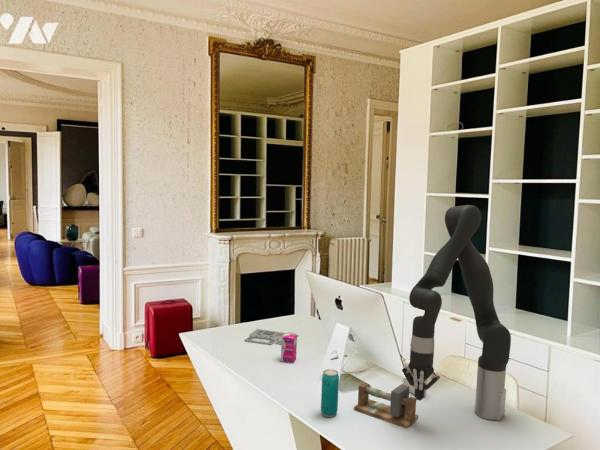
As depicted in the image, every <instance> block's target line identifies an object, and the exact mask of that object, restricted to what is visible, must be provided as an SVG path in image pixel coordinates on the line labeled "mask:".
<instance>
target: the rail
mask: <svg viewBox="0 0 600 450" xmlns="http://www.w3.org/2000/svg"><path fill="white" fill-rule="evenodd" d="M357 394H358V395H357V396H358V397H357V404H356V405H355V406H353V409H354V411H357V412H358V413H362V414H365V415H368V416H370V417H373V418H376V419H379V420H381V421H383V422H384V421H385V422H388V423H391V424H393V425H396V426H399V427H402V428H405V429H408V428H409V427H410V426H411V425H412V424H413V423H414V422H416V421H417V420H418V419H419V414H416V412H417V411H416V410H417V400H416V398H415V396H414V397H413V396H409V398H408V399H406V398H402V405H404V406H405V412H404V413H403V414H401V415H400V416H399V417H396V416H393V415H390V405H389V404H386V403H383V402H380V401H375V400H373V399H370V398H369V395H370V396H371V397H375V398H379V399H383V400H386V401H388V402H389V401H390V402H391V392H387V391H383V390H382V389H378V388H375V387H370V383H367V382H363V383H361V384H360V385H358V393H357Z"/></svg>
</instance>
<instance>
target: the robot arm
mask: <svg viewBox="0 0 600 450" xmlns="http://www.w3.org/2000/svg"><path fill="white" fill-rule="evenodd" d="M481 222H482V214H481V211H480V209H479V208H478V207H477V206H475V205H473V204H465V205H458V206H456V205H455V206H451V207H449V208H448V209H447V210H446V211H445V214H444V223H445V227H446V230H447V232H448V234H449V239H448V241H447V242H445V244H444V245H443V246H442V247H441V248H440V249H439V250H438V251H437V252H436V254H435V255H434V256H433V258H432V259H431V262H430V264H429V265H428V267H427V270H426V271H425V274H424V275H423V276H422V277H421V278H420V279H419V281H417V283H416V284H415V285H414V286H413V288H411V291H410V293H409V296H408V297H409V299H408V300H409V303H410V305H411V307H413V308H415V309H418V310H422V311H424V313H423V315H418V316H415V317H413V321H412V331H411V332H412V334H411V339H410V344H409V345H410V351H409V352H410V353H409V359H410V363H409V364H408V367H405V368H404V367H403V368H401V371H402V373H404V375H405V377H406V379H407V381H408V382H409V384H410V385H411V386H414V388H415V394H413V395H414V398H416V401H422V400H423V399H424V398H425V396H424V391H425V390H426V391H427V390H428V389H430V388H431V387H432V386H433V385H434V384H436V383H437V382H438V381H439V380H440V379H441V376H440V375H438V374H436V373H435V369H434V357H435V355H434V353H435V332H436V331H435V328H436V327H435V325H436V322H437V319H438V318H439V317H438V316H439V315H440V311H441V309H442V305H443V299H442V295H441V294H440V293H439V291H437V290H433V289H434V288H442V287H444V286H445V285H446V283H447V280H448V279H449V276H450V274H451V272H452V270H453V267H454V266H455V263H456V262H457V261H458V264H459V267H460V270H461V275H462V280H463V282H464V287H465V289H466V293H467V295H468V298H469V301H470V303H471V306H472V309H473V314H474V319H475V320H474V321H475V326H476V332H477V336H478V338H479V340H480V342H481V343H482V348H481V349H482V353H481V355H480V356H478V360H477V373H476V385H475V386H476V387H475V388H476V389H475V402H474V403H475V404H474V413H475V415H476V416H478V417H479V418H482V419H485V420H490V421H498V422H501V420H502V419H503V418H504V416H505V411H506V397H507V389H506V373H507V365H508V364H509V360H510V353H511V345H512V343H511V342H512V336H511V332H510V330H509V329H508V328H507V327H506V326H505V325H503V324H502V323H501V321H500V319H499V317H498V314H497V311H496V307H495V303H494V281H493V277H492V274H491V271H490V267H489V265H488V264H489V263H487V261H486V260H485V258H484V257H483V256H482V254H481V253H480V252H479V251H478V249H477V248H476V247H475V246H474V244H473V241H472V238H473V236H474V234H475V233H476V232H477V230H478V229H479V227H480V225H481ZM411 373H412V374H411ZM412 375H413V376H412ZM429 378H430V381H429V382H428V379H429ZM426 381H427V385H426Z"/></svg>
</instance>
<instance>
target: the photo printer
mask: <svg viewBox="0 0 600 450" xmlns="http://www.w3.org/2000/svg"><path fill="white" fill-rule="evenodd" d="M409 363H410V358H409V359H406V360H405V361H404V362H403V368H405V367H408V364H409ZM411 374H412V373H411ZM412 376H413V375H412ZM402 379H403V380H402V384H403V385H406V386H410V387H409V393H411V394H413V395H414V394H415V388H414V386H411V385H410V384H409V382H408V381H407V379H406V378H403V377H402ZM427 384H428V380H427V381H426V385H427ZM426 395H427V390H425V391H424V397H426Z"/></svg>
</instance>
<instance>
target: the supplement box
mask: <svg viewBox="0 0 600 450" xmlns="http://www.w3.org/2000/svg"><path fill="white" fill-rule="evenodd" d="M297 335H298V334H297ZM297 335H294V334H284V335H283V337H282V345H280V347H281V349H280V351H281V352H280V362H281V363H288V364H294V362H295V361H296V360H297V348H298V347H297V345H298V337H297Z"/></svg>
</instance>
